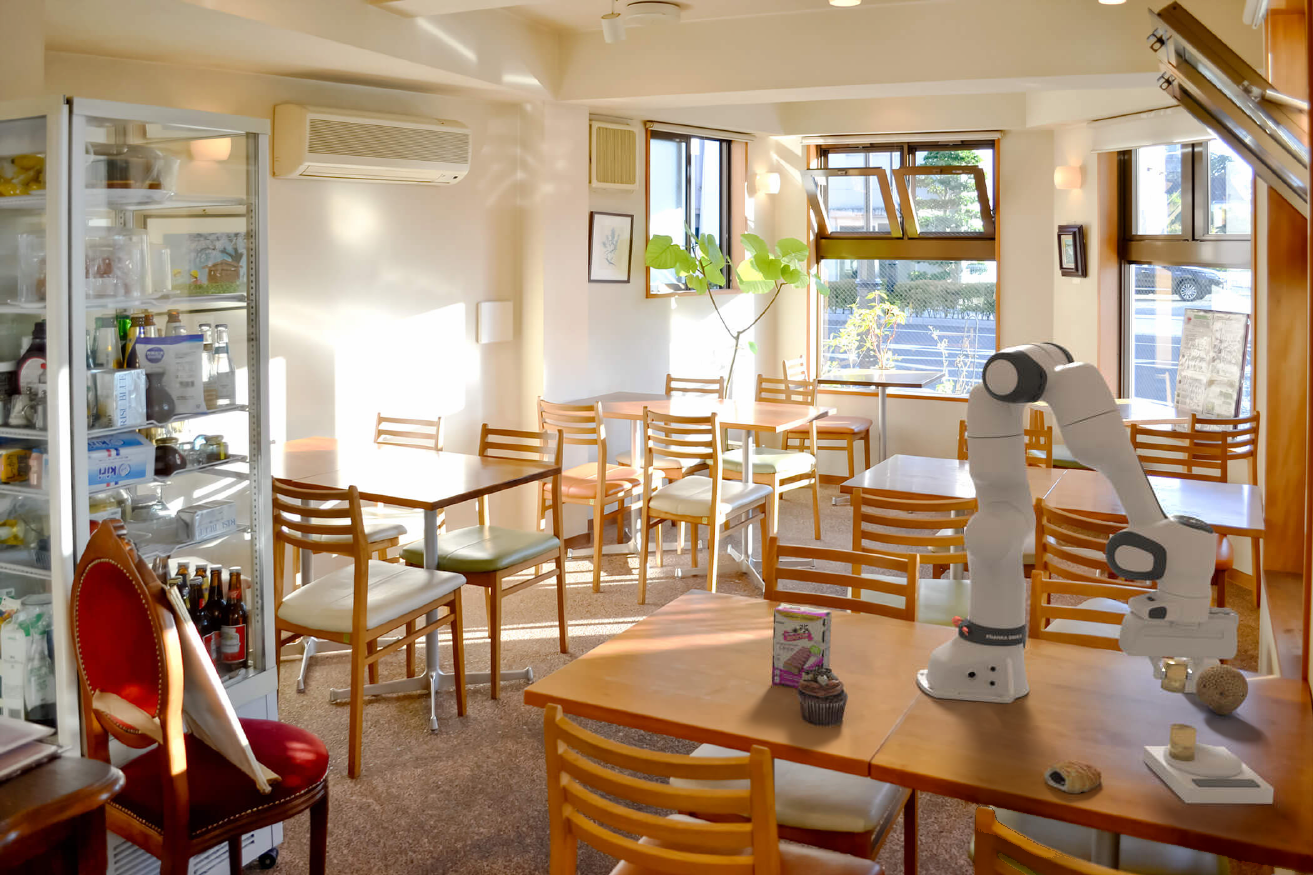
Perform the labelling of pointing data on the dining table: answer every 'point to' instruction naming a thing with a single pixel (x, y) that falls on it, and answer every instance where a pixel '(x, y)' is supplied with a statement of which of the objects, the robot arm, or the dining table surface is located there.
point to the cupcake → (821, 697)
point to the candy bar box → (799, 642)
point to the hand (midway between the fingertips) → (1173, 678)
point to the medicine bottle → (1191, 685)
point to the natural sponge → (1222, 688)
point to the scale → (1209, 776)
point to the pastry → (1073, 776)
